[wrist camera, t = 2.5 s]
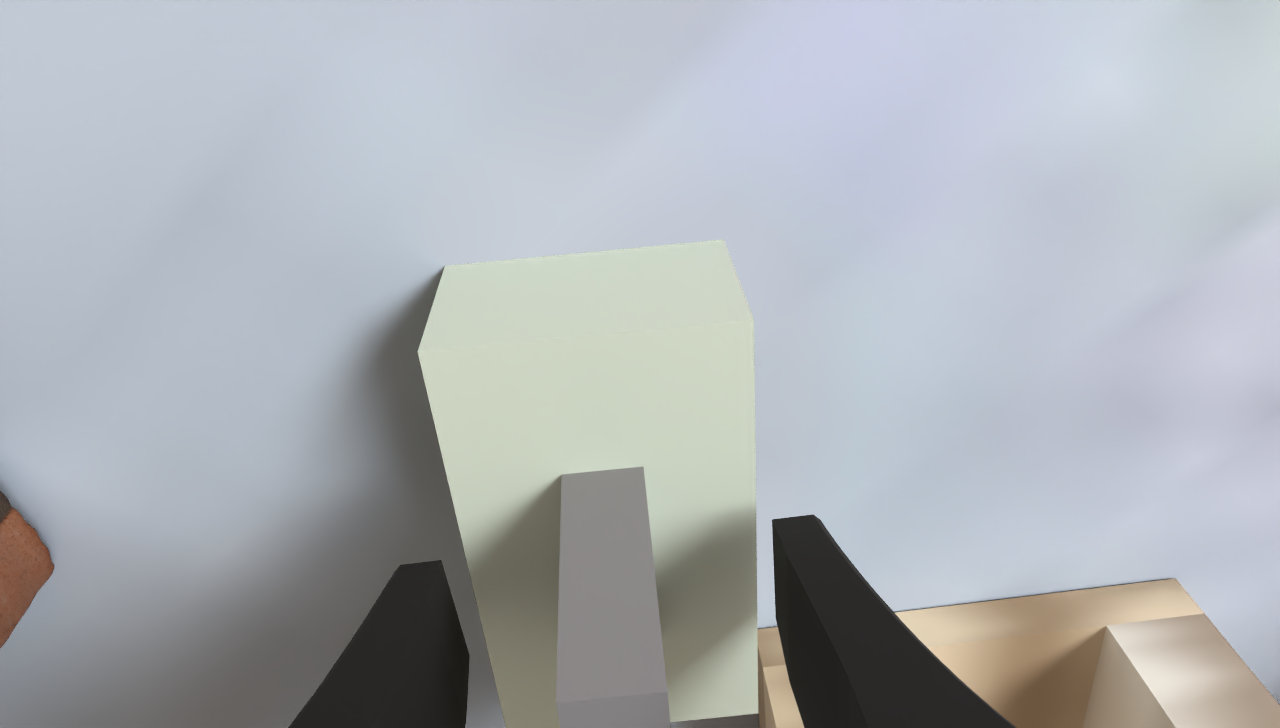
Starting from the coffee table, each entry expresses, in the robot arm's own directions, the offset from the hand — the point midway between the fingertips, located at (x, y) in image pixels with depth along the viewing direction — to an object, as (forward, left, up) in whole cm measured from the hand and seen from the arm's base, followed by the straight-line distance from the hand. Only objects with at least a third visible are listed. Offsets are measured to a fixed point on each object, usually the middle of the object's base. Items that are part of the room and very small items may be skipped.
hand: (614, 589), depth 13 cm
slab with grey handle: (0, 0, -4) cm, 4 cm away
